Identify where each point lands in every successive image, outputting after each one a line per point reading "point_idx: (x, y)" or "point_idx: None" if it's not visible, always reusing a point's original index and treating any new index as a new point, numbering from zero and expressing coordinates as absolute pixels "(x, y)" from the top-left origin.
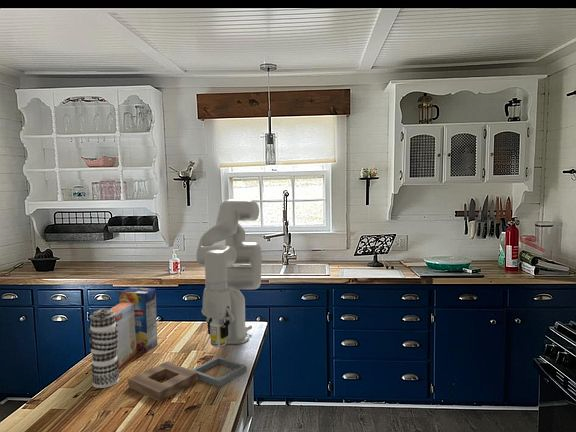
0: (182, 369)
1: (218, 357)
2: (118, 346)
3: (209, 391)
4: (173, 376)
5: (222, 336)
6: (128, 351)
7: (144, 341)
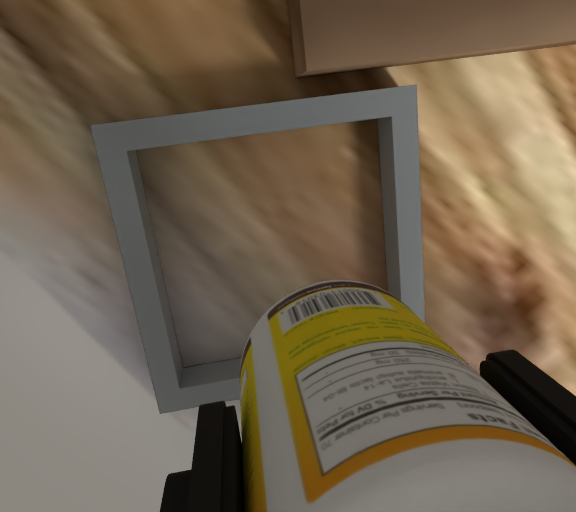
0: (454, 19)
1: None
2: None
3: (96, 31)
4: None
5: (197, 426)
6: None
7: None
